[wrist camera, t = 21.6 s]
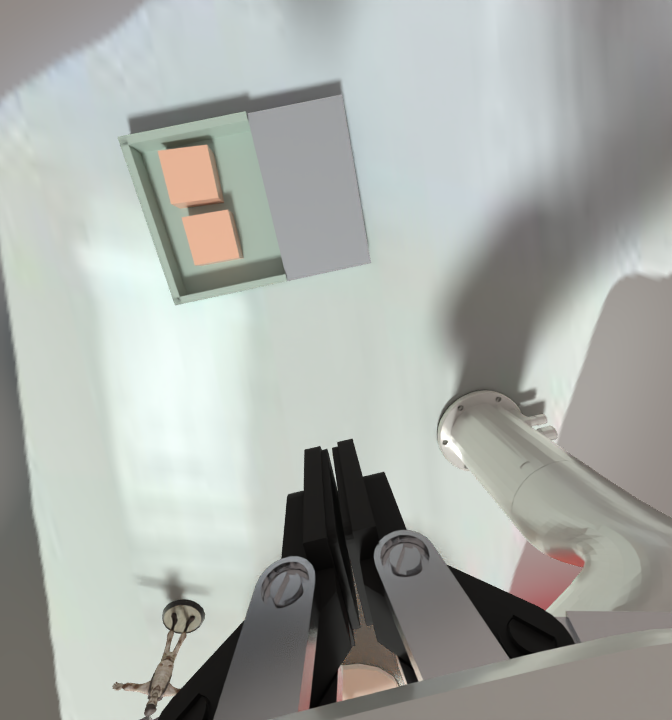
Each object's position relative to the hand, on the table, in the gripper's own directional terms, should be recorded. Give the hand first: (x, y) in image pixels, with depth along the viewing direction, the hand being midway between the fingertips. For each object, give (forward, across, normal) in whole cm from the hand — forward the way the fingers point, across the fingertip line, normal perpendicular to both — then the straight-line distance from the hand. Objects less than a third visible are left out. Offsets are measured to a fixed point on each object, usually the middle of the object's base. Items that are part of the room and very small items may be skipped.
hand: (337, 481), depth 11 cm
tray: (+32, +8, -15) cm, 36 cm away
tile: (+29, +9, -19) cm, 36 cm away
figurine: (+32, +31, +41) cm, 61 cm away
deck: (+32, -3, -15) cm, 36 cm away
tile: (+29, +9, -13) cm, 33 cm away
